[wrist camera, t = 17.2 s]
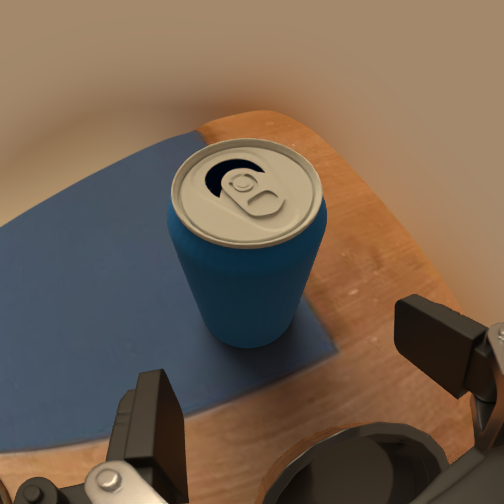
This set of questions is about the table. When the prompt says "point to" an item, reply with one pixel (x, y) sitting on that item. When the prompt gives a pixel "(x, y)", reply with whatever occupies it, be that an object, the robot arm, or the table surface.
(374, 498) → the pan
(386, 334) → the table surface
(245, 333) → the beverage can
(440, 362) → the robot arm
